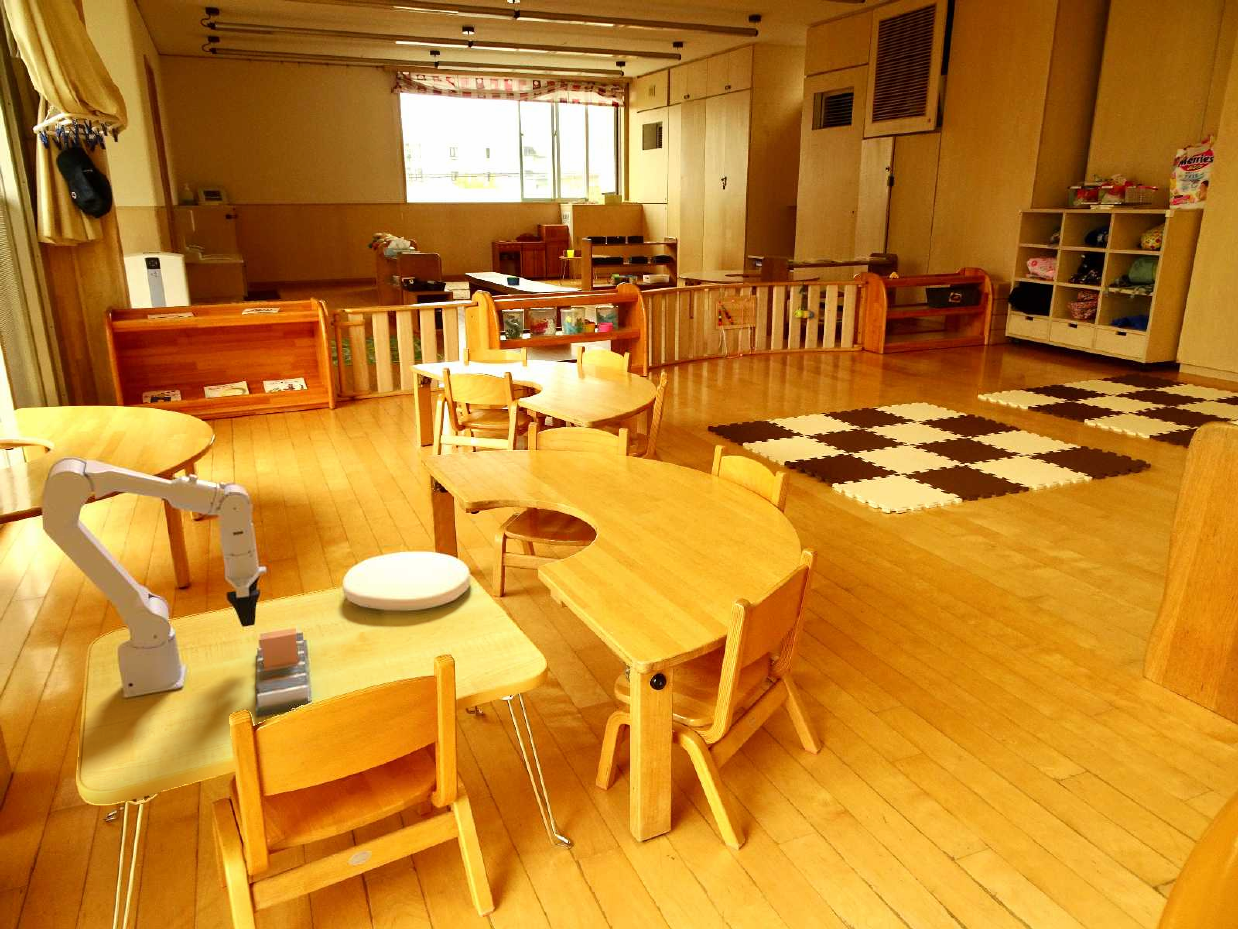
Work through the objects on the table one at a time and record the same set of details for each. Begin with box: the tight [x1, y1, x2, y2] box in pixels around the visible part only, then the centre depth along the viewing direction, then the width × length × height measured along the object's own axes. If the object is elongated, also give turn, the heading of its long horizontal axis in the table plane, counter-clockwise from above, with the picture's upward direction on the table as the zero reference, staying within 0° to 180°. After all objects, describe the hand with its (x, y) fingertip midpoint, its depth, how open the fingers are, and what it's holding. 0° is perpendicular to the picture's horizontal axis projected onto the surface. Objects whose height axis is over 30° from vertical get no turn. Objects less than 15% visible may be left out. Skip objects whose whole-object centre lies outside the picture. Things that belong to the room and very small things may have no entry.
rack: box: [255, 630, 313, 718], centre depth 156 cm, size 9×23×4 cm, turn 22°
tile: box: [259, 628, 300, 669], centre depth 155 cm, size 6×2×8 cm, turn 112°
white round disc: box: [342, 551, 472, 612], centre depth 191 cm, size 28×6×27 cm
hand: (248, 616), depth 160 cm, fingers open, 7 cm apart
